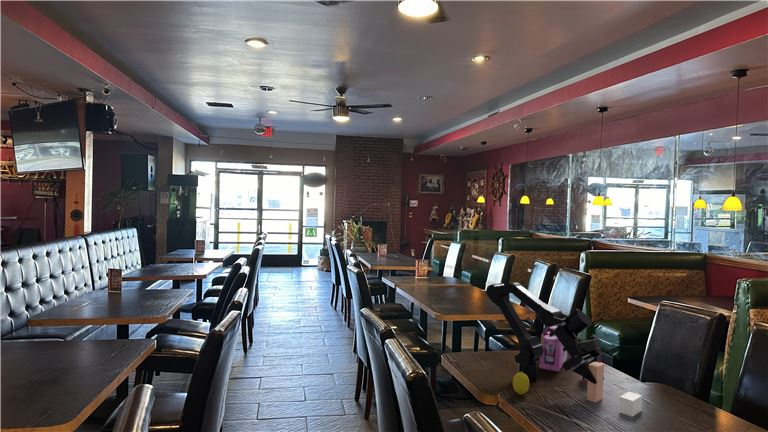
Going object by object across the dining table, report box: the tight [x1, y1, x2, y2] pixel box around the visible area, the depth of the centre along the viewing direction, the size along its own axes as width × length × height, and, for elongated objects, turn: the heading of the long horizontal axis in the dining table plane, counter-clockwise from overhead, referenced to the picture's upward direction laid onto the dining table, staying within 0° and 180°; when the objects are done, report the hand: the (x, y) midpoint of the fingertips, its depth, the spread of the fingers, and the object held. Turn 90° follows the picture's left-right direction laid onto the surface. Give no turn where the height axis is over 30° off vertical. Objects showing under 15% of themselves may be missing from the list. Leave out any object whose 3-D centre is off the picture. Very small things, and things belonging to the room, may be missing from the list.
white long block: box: [617, 391, 643, 417], centre depth 156 cm, size 18×7×6 cm, turn 41°
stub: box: [586, 362, 605, 403], centre depth 159 cm, size 3×5×12 cm, turn 131°
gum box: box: [538, 324, 568, 372], centre depth 198 cm, size 24×8×14 cm, turn 151°
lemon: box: [512, 372, 530, 396], centre depth 163 cm, size 6×6×8 cm
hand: (599, 381), depth 158 cm, fingers closed on stub, 5 cm apart
